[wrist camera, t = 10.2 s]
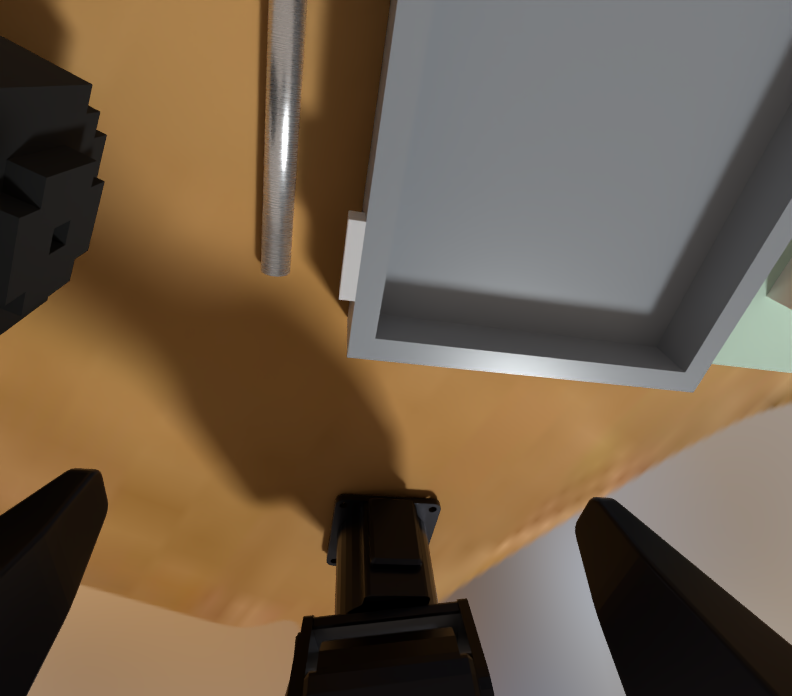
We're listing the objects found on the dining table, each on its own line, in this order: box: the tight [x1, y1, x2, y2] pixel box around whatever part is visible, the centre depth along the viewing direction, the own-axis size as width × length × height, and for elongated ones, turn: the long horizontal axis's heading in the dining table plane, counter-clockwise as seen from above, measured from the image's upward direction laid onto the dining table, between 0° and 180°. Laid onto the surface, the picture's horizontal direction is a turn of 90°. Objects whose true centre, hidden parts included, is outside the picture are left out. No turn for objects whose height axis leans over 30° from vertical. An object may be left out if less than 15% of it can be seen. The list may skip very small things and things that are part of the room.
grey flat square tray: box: [339, 0, 792, 392], centre depth 16 cm, size 18×17×3 cm
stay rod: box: [261, 0, 307, 276], centre depth 15 cm, size 14×1×1 cm
